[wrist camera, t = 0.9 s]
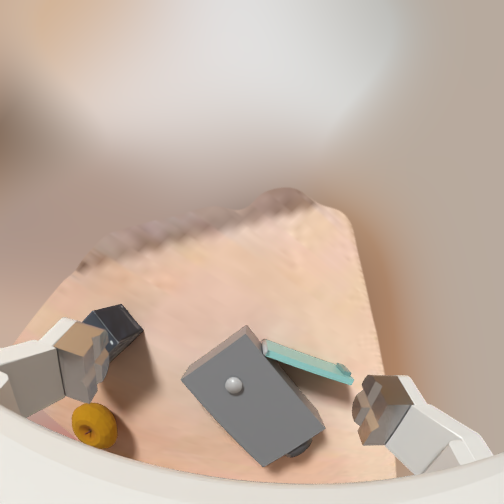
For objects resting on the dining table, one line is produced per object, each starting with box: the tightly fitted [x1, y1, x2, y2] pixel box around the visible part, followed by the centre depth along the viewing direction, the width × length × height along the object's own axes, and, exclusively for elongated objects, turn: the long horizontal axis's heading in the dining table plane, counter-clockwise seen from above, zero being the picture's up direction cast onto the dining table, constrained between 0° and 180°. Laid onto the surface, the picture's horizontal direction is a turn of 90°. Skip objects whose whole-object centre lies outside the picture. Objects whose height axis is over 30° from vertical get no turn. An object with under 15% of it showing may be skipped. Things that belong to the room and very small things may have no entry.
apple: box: [72, 403, 117, 449], centre depth 45 cm, size 9×9×9 cm
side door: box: [262, 339, 354, 385], centre depth 46 cm, size 14×2×7 cm, turn 68°
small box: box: [82, 304, 143, 363], centre depth 45 cm, size 11×6×10 cm, turn 133°
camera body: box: [181, 325, 325, 467], centre depth 46 cm, size 22×12×8 cm, turn 38°
